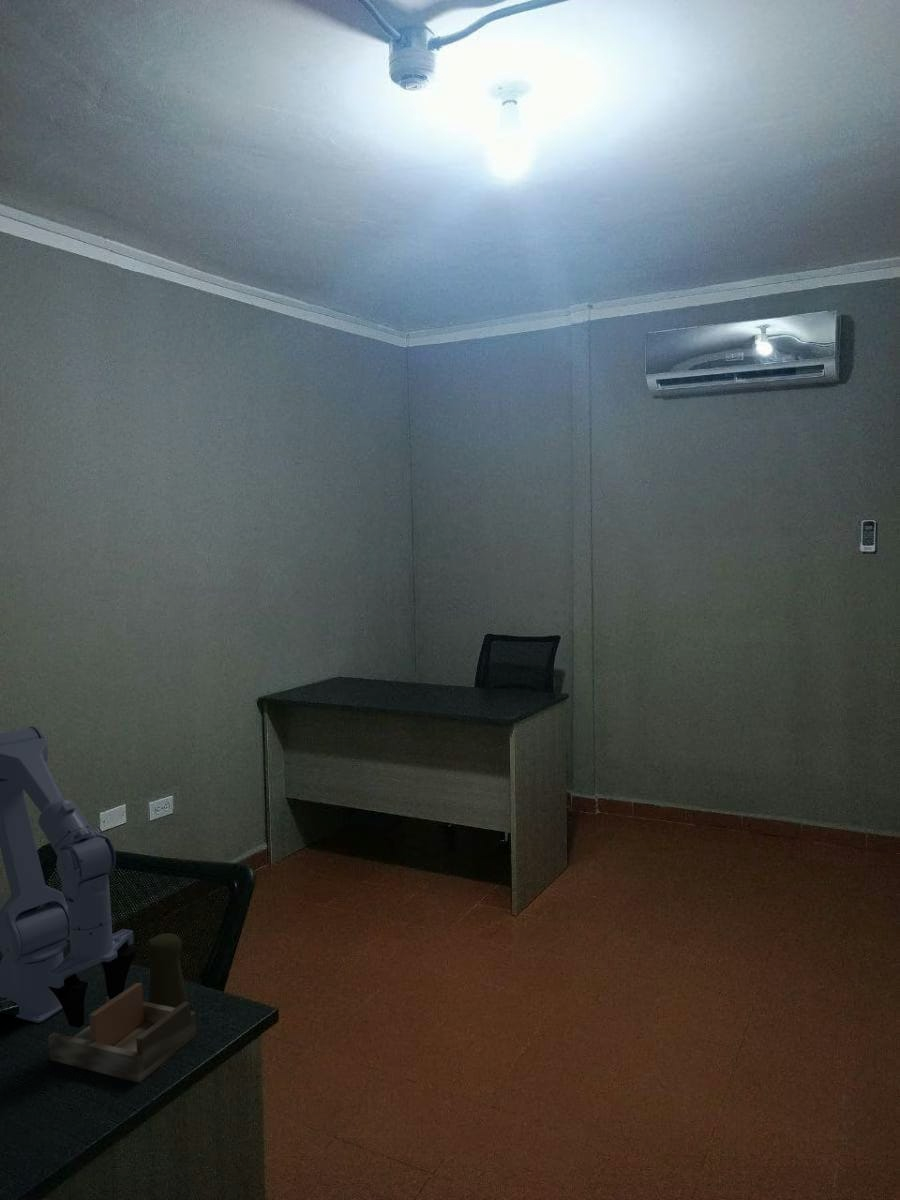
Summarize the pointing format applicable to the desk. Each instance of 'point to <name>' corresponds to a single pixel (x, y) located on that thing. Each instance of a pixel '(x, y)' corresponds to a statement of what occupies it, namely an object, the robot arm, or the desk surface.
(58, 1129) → the desk surface
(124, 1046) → the wooden tray
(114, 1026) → the lane pusher
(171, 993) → the brown tapered rounded cylinder
